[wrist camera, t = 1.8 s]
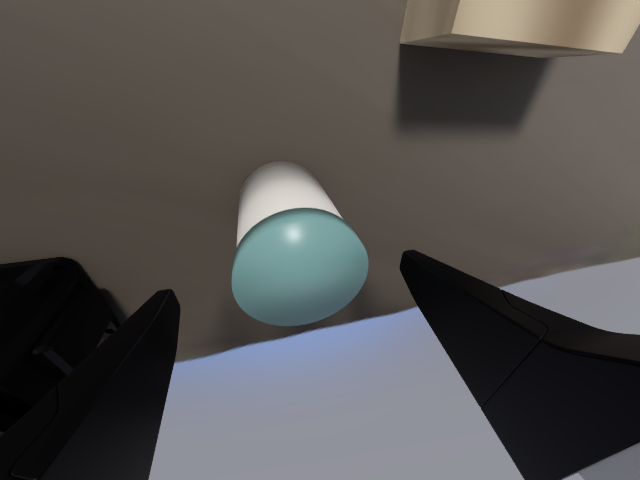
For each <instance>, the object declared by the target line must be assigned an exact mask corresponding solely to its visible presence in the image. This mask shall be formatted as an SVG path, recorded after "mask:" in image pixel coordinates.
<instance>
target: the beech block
mask: <svg viewBox="0 0 640 480" xmlns="http://www.w3.org/2000/svg"><path fill="white" fill-rule="evenodd" d="M639 24H640V0H407V6H406V11H405V17H404V22H403V28H402V33H401V39H400V44H409V45H419V46H429V47H439V48H449V49H459V50H468V51H478V52H488V53H498V54H508V55H518V56H527V57H537V58H549V57H567V56H586V55H605V54H622V53H623V51H624V49H625V48H626V46H627V44H628V43H629V41H630V39H631V37H632V36H633V34H634V32H635V31H636V29H637V27H638V26H639Z"/></svg>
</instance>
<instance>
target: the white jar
mask: <svg viewBox="0 0 640 480" xmlns="http://www.w3.org/2000/svg"><path fill="white" fill-rule="evenodd" d="M367 273H368V256H367V252H366V250H365V248H364V246H363V244H362V243H361V241H360V240H359V238H358V237H357V235H356V234H355V232H354V231H353V229H352V228H351V227H350V225H349V224H348V223H347V222H346V221H345V220H343V219H342V217H341V216H340V214H339V213H338V211H337V210H336V208H335V207H334V205H333V203H332V202H331V200H330V199H329V197H328V196H327V194H326V193H325V191H324V190H323V188H322V187H321V185H320V184H319V182H318V181H317V179H316V178H315V177H314V175H313V174H312V173H311V172H310V171H309V170H307V169H306V168H304V167H303V166H301V165H298V164H296V163H292V162H287V161H277V162H271V163H267V164H265V165H262V166H261V167H259V168H257V169H256V170H254V171H253V172H252V173H251V174H250V175H249V176H248V177H247V179H246V180H245V181H244V183H243V185H242V188H241V191H240V196H239V213H238V232H237V248H236V251H235V254H234V259H233V269H232V291H233V295H234V297H235V300H236V302H237V303H238V305H239V306H240V307H241V308H242V310H243V311H244V312H246V313H247V314H248V315H249V316H251V317H253V318H254V319H256V320H259V321H261V322H264V323H267V324H271V325H277V326H299V325H305V324H309V323H313V322H316V321H319V320H322V319H324V318H327V317H329V316H331V315H333V314H335V313H336V312H338V311H339V310H341V309H342V308H343V307H345V306H346V305H347V304H348V303H349V302H350V301H352V300H353V298H354V297H355V296H356V295H357V294H358V292H359V291H360V289H361V288H362V286H363V284H364V282H365V279H366V277H367Z"/></svg>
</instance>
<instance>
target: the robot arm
mask: <svg viewBox="0 0 640 480" xmlns="http://www.w3.org/2000/svg"><path fill="white" fill-rule="evenodd" d="M59 265H60V266H63V267H64V268H63V267H60V266H59ZM400 271H401V273H402V275H403V278H404V280H405V282H406V284H407V286H408V288H409V290H410V292H411V294H412V296H413V298H414V300H415V302H416V304H417V305H418V307H419V309H420V310H421V312H422V313H423V315H424V317H425V318H426V320H427V322H428V323H429V325H430V326H431V328H432V330H433V331H434V333H435V335H436V336H437V338H438V340H439V341H440V342H441V344H442V346H443V348H444V349H445V351H446V353H447V354H448V356H449V357H450V359H451V361H452V362H453V364H454V366H455V367H456V368H457V370H458V372H459V374H460V375H461V377H462V378H463V380H464V382H465V383H466V385H467V386H468V388H469V390H470V392H471V393H472V395H473V396H474V398H475V400H476V401H477V403H478V405H479V406H480V407H481V410H482V411H483V413H484V414H485V416H486V418H487V419H488V421H489V422H490V424H491V426H492V428H493V429H494V431H495V432H496V434H497V436H498V437H499V439H500V440H501V442H502V444H503V445H504V447H505V449H506V450H507V452H508V453H509V455H510V457H511V458H512V460H513V462H514V463H515V465H516V466H517V468H518V470H519V471H520V473H521V475H522V476H523V478H524V479H525V480H563V479H565V478H567V477H569V476H572V475H574V474H576V473H579V474H580V475H581V476H582V478H583V479H584V480H640V335H634V334H622V333H615V332H610V331H605V330H602V329H598V328H595V327H592V326H589V325H587V324H584V323H582V322H579V321H577V320H574V319H572V318H569V317H566V316H564V315H561V314H559V313H556V312H554V311H551V310H549V309H546V308H544V307H541V306H539V305H536V304H534V303H531V302H528V301H526V300H524V299H522V298H520V297H517V296H515V295H513V294H510V293H508V292H506V291H504V290H500V289H499V288H497V287H495V286H493V285H491V284H488V283H486V282H484V281H482V280H480V279H477V278H475V277H473V276H471V275H469V274H466V273H464V272H462V271H460V270H457V269H455V268H453V267H451V266H449V265H446V264H444V263H442V262H440V261H438V260H435V259H433V258H431V257H429V256H426V255H424V254H422V253H420V252H418V251H415V250H407V251H404V252H403V254H402V258H401V262H400ZM179 321H180V304H179V302H178V300H177V298H176V296H175V294H174V292H173V290H172V289H166V290H160V291H157V292H156V293H155V294H154V295H153V296H152V297H151V298H150V299H149V300H147V301H146V302H145V303H144V304H143V305H142V306H141V307H140V308H139V309H138V310H137V311H136V312H135V313H134V314H132V315H131V316H130V317H129V318H128V319H127V320H126V321H125V322H124V323H123V324H122V325H120V324H119V322H118V321H117V320H116V318H115V317H114V316H113V314H112V313H111V312H110V310H109V309H108V307H107V306H106V305H105V303H104V302H103V301H102V299H101V298H100V297H99V295H98V294H97V292H96V291H95V290H94V288H93V287H92V286H91V284H90V283H89V282H88V280H87V279H86V278H85V276H84V275H83V273H82V272H81V271H80V269H79V268H78V267H77V265H76V264H75V263H74V262H73V261H72V260H70V259H68V258H64V257H56V258H48V259H40V260H32V261H24V262H16V263H8V264H0V480H148V479H149V474H150V470H151V465H152V461H153V456H154V451H155V447H156V443H157V438H158V434H159V429H160V424H161V420H162V415H163V411H164V406H165V402H166V397H167V392H168V388H169V384H170V379H171V374H172V370H173V366H174V361H175V356H176V351H177V342H178V331H179ZM104 337H108V338H107V339H106V340H105V341H104V342H103V343H101V344H100V345H99V346H98V347H97V345H98V343H99V342H100V340H101V338H104ZM96 347H97V348H96Z"/></svg>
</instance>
